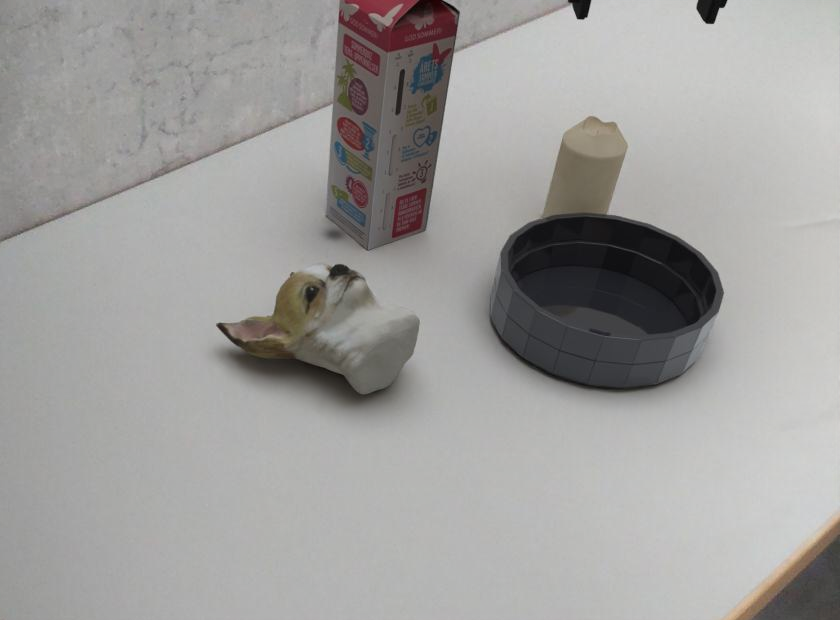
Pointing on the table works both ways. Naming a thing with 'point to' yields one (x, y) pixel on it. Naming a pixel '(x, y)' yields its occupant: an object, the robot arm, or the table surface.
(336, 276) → the ceramic sculpture
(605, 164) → the candle
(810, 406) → the table surface
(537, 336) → the pan
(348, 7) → the juice carton
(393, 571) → the table surface
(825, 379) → the table surface
